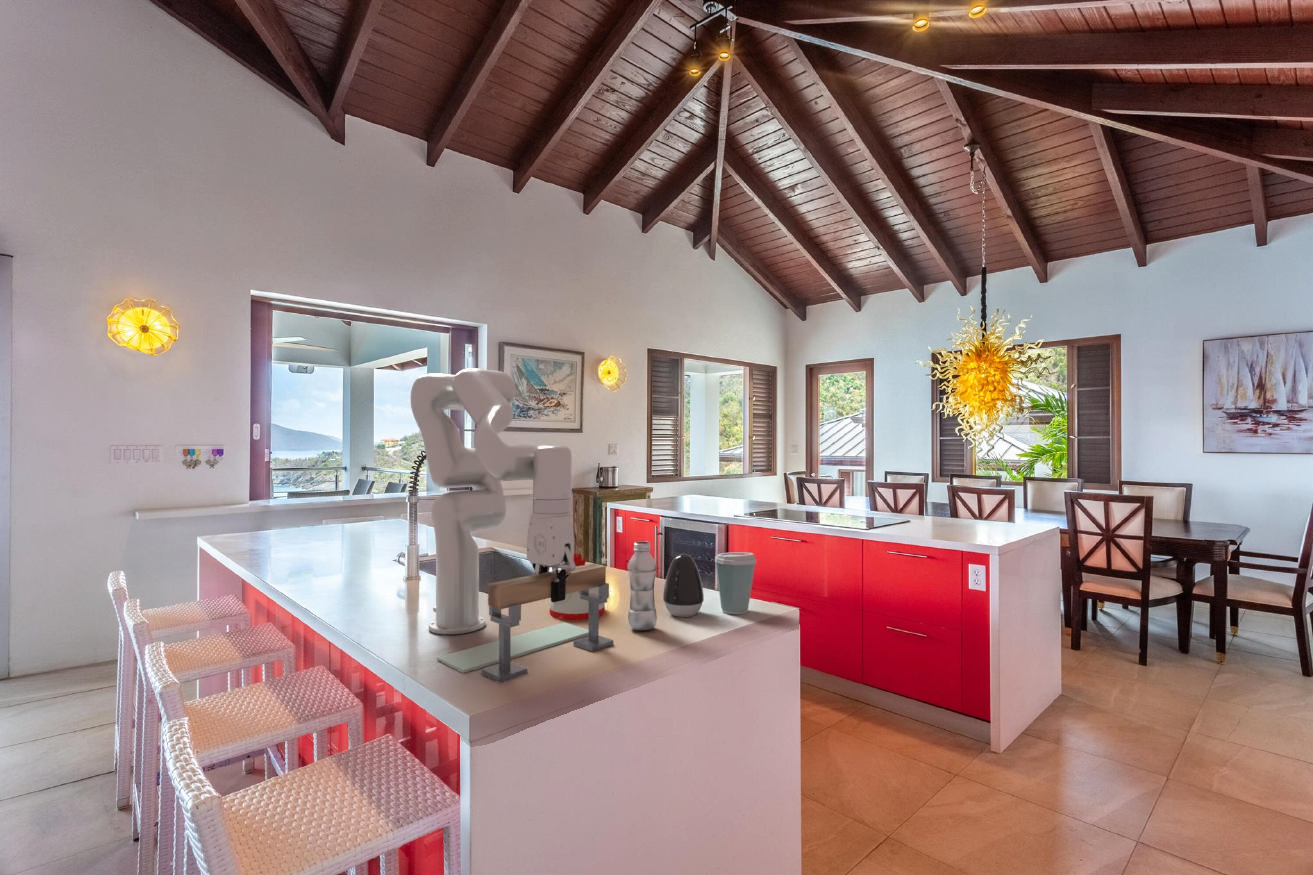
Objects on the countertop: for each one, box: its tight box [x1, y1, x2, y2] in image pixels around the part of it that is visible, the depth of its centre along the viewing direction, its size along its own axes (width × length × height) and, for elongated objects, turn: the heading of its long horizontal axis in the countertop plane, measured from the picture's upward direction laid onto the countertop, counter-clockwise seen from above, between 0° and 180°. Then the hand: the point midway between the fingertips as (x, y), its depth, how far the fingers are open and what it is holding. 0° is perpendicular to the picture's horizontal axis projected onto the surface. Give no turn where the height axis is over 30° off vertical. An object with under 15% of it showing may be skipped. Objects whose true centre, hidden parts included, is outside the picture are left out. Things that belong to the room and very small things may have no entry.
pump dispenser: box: [662, 553, 705, 618], centre depth 153 cm, size 10×10×15 cm
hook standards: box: [481, 582, 615, 684], centre depth 122 cm, size 7×28×14 cm, turn 137°
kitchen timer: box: [549, 552, 606, 621], centre depth 155 cm, size 14×14×15 cm
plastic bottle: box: [627, 540, 658, 631], centre depth 141 cm, size 6×7×20 cm
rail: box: [487, 563, 607, 610], centre depth 122 cm, size 4×26×4 cm, turn 138°
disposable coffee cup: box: [714, 551, 757, 615], centre depth 156 cm, size 11×11×15 cm
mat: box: [436, 622, 589, 674], centre depth 129 cm, size 10×32×1 cm, turn 137°
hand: (550, 597), depth 122 cm, fingers closed on rail, 4 cm apart
